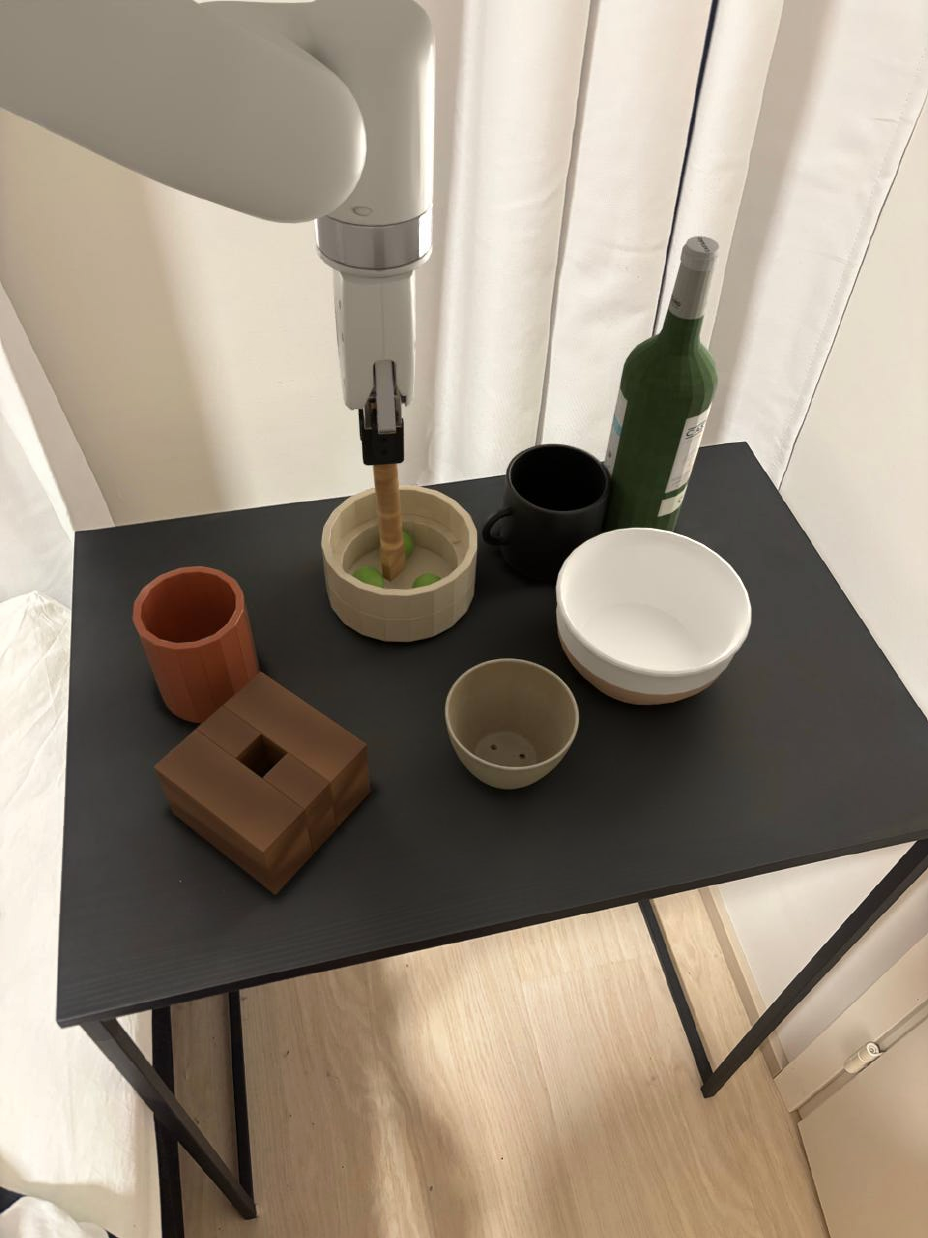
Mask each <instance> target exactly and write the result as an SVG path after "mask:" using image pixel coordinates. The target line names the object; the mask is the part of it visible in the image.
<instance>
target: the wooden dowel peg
mask: <svg viewBox="0 0 928 1238" xmlns="http://www.w3.org/2000/svg"><path fill="white" fill-rule="evenodd" d="M372 409H377V407H376V403H371V412H372ZM372 472H373V474H372V475H373V484H374V488H375V495H376V505H377V515H378V525H379V535H380V544H381V547H380V555H381V565H382V575H383V578H384V579H386V580H388V581H390V582H392V581H393V580H394V579H395V578H396V577H397V576H398V575H399V574H400V573H401V572H402V571H403V570H404V569H405V568H406V562H405V548H404V538H403V533H402V519H401V506H400V492H399V485H400V480H399V478H400V477H399V467H398V464H384V465H372Z"/></svg>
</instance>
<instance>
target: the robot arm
mask: <svg viewBox="0 0 928 1238" xmlns="http://www.w3.org/2000/svg"><path fill="white" fill-rule="evenodd" d="M435 108H436V34H435V29H434V25H433V22H432V19H431V17H430V16H429V14H428V12H427V11H426V10H425V8H423V7H422V5H420V4H419V3H418V2H417V1H415V0H313V1H306V2H267V1H265V2H264V1H247V0H246V1H245V0H212V1H204V2H199V3H198V2H197V1H195V0H0V110H2V111H3V112H6V113H8V114H11V115H13V116H15V117H18V118H20V119H22V120H25V121H27V122H29V123H31V124H34V125H36V126H38V127H40V128H42V129H44V130H46V131H49V132H50V133H53V134H55V135H57V136H59V137H62V138H63V139H65V140H67V141H70V142H71V143H74V144H76V145H77V146H80V147H81V148H83V149H85V150H88V151H90V152H92V153H94V154H96V155H98V156H99V157H102V158H104V159H106V160H108V161H111V162H113V163H116V165H118V166H121V167H123V168H124V169H125V168H126V169H128V170H130V171H132V172H134V173H136V174H139V175H141V176H143V177H145V178H147V179H150V180H152V181H154V182H157V183H159V184H162V185H164V186H167V187H169V188H172V189H174V190H177V191H180V192H182V193H185V194H187V195H190V196H193V197H196V198H198V199H201V200H205V201H208V202H210V203H213V204H216V205H218V206H221V207H223V208H227V209H230V210H233V211H235V212H238V213H242V214H245V215H248V216H250V217H254V218H256V219H260V220H262V221H263V220H264V221H267V222H273V223H278V224H302V223H308V222H312V221H313V225H314V237H315V248H316V249H315V250H316V253H317V255H318V258H319V259H320V260H321V261H322V262H323V263H324V264H325V265H327V266H328V267H330V268H331V269H332V288H333V304H334V317H335V328H336V342H337V344H336V345H337V355H338V362H339V363H338V364H339V365H338V366H339V374H340V381H341V391H342V398H343V403H344V405H345V407H346V408H348V409H349V410H350V411H355V410H357V413H358V414H357V415H358V431H359V433H358V434H359V440H360V442H361V457H362V463H363V465H364V466H369V467H371V466H373V465H384V464H397V465H398V464H402V463H404V461H405V420H404V417H403V410H402V407H403V406H402V405H404V406H405V408H407V407H408V406H410V405H411V404H412V403H413V401H414V395H415V378H416V377H415V376H416V375H415V373H416V313H417V312H416V269H419V268H420V267H421V266H423V265H424V264H425V263H426V262H428V260H429V259H430V258H431V256H432V254H433V240H434V239H433V238H434V237H433V236H434V233H433V232H434V176H435V175H434V174H435V172H434V171H435V170H434V167H435V113H436V111H435V110H436V109H435ZM371 403H376V407H377V409H372V412H371Z"/></svg>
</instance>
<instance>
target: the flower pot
mask: <svg viewBox="0 0 928 1238" xmlns="http://www.w3.org/2000/svg"><path fill="white" fill-rule="evenodd" d="M579 712H580V711H579V706H578V704H577V701H576V698H575V695H574V694H573V692H572V691H571V689H570V688H569V686H568V685H567V684H566V683H565V682H564V681H563V679H561V677H559V676H558V675H557V674H556V673H554V672H553V671H552V670H550V669H549V668H547V667H545V666H543V665H540V664H538V663H536V662H532V661H529V660H525V659H517V658H497V659H492V660H487V661H484V662H481V663H479V664H476V665H474V666H473V667H471V668H469V669H467V670H466V671H464V673H462V674H461V675H460V676H459V677H458V678H457V679H456V680H455V682H454V683H453V684H452V686H451V688H450V689H449V691H448V693H447V696H446V700H445V705H444V717H445V718H444V719H445V725H446V729H447V733H448V736H449V740H450V742H451V745H452V747H453V749H454V752H455V753H456V755H457V757H458V758H459V760H460V762H461V763H462V764H463V766H465V768H466V769H467V771H469V772H470V773H471V774H472V776H474V778H477V779H478V780H479V781H481V782H482V783H484V784H486V785H488V786H489V787H493V788H495V789H500V790H517V789H520V788H521V789H522V788H525V787H527V786H530V785H532V784H534V783H536V782H538V781H540V780H541V779H542V778H544V777H545V776H546V775H548V774H549V773H550V772H551V771H553V769H555V768H556V767H557V765H558V764H560V762H561V761H562V760H563V759H564V757H565V756H566V754H567V753H568V752H569V749H570V748H571V746H572V744H573V742H574V740H575V738H576V735H577V732H578V730H579V729H578V728H579V724H580V723H579V722H580V714H579Z"/></svg>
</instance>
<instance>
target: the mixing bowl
mask: <svg viewBox="0 0 928 1238" xmlns="http://www.w3.org/2000/svg"><path fill="white" fill-rule="evenodd" d="M399 492H400V506H401V519H402V530H405V531H406V532H408V533H409V534H410V535H411V537H412V539H413V542H414V548H413V551H412V553H411V555H410V556H409V557H408V558H407V559H405V562H406V568H405V569H404V570H403V571H402V572H401V573H400V574H399V575H398V576H397V577H396V578H395V579H394V580H393V581H392V582H390V581H388V580H386V579H384V578H383V579H384V587H383V588H380V587H376V586H373V585H369V584H365V583H363V582H361V581H359V580H358V579H356V578H354V577H353V576H352V575H353V574H354V572H355V571H356V570H358V569H359V568H362V567H373V568H375V569H377V570H378V571H379V572H380V573H381V575H382V565H381V555H380V547H381V544H380V535H379V525H378V515H377V505H376V495H375V487H371V488H367V489H365V490H363V491H361V492H359V493H355V494H354V495H351V496H349V497H348V498H347V499H345V500H344V501H342V502H341V503H340V504H339V505H338V506H337V507H335V508H334V510H333V511H331V514H330V515H329V517H328V518H327V520H326V522H325V524H324V525H323V529H322V535H321V541H320V546H321V547H320V548H321V554H322V555H321V556H322V564H323V572H324V581H325V589H326V594H327V597H328V600H329V601H328V602H329V605H330V608H331V609H332V610H333V611H334V613H335V614H336V616H337V617H338V618H339V619H340V620H341V622H342V623H343V624H344V625H346V626H347V627H349V628H351V629H352V630H354V631H355V632H357V633H359V634H360V635H362V636H364V637H369V638H372V639H376V640H378V641H383V642H396V643H412V642H415V641H420V640H425V639H429V638H432V637H435V636H438V635H439V634H441V633H442V632H444V631H446V630H448V629H450V628H452V627H453V626H454V625H455V624H456V623H458V621H459V620H460V619H461V618H462V617H463V616H464V615H465V614H466V613H467V612H468V610H469V607H470V605H471V603H472V601H473V598H474V597H475V584H476V569H477V558H478V557H477V555H478V529H477V528H476V526H475V523H474V521H473V519H472V516H471V515H470V514H469V512H468V511H466V509H464V508H463V507H462V505H461V504H459V502H457V501H456V500H454V499H453V498H451V497H449V496H448V495H446V494H444V493H442V492H440V491H437V490H435V489H431V488H428V487H422V486H420V485H414V484H399ZM426 573H431V574H435V575H437V576H438V577H440V578H441V580H439V581H437V582H435V583H433V584H431V585H428V586H423V587H418V588H414V589H412V585H413V583H414V581H415V580H416V578H417V577H419V576H420V575H422V574H426ZM382 576H383V575H382Z"/></svg>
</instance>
